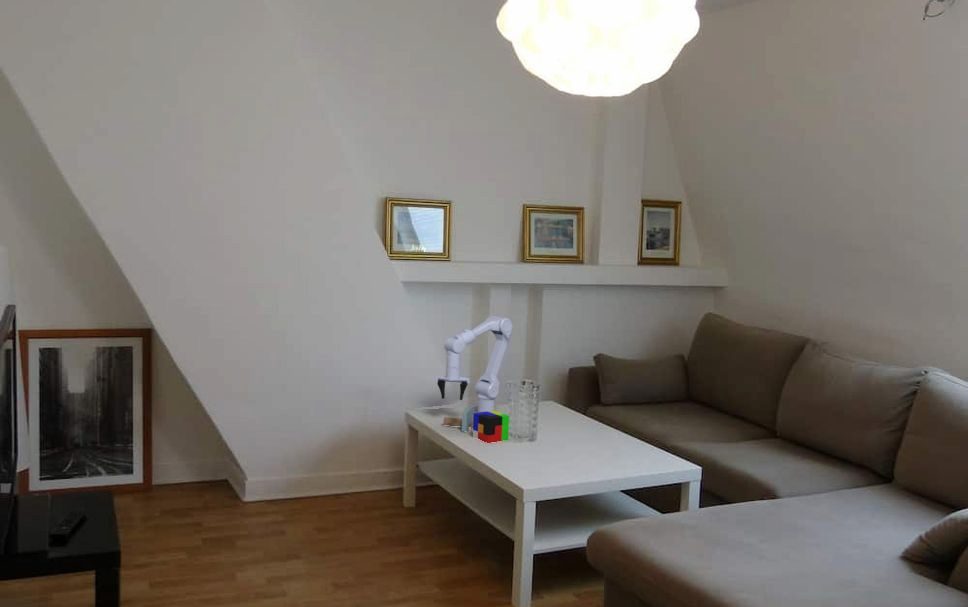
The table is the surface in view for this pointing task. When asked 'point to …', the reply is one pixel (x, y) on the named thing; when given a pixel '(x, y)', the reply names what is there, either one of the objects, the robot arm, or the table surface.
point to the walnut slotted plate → (455, 422)
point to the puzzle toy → (491, 426)
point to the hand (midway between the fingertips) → (452, 399)
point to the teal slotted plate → (467, 417)
